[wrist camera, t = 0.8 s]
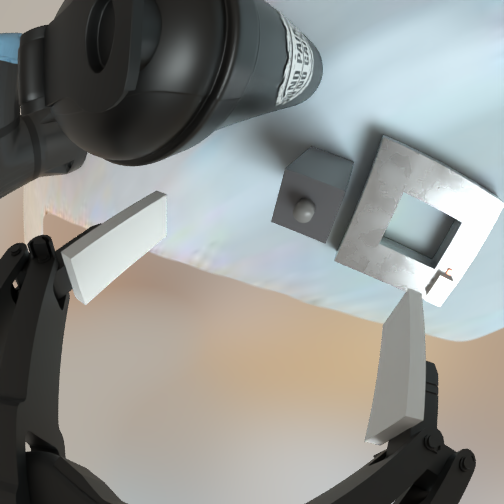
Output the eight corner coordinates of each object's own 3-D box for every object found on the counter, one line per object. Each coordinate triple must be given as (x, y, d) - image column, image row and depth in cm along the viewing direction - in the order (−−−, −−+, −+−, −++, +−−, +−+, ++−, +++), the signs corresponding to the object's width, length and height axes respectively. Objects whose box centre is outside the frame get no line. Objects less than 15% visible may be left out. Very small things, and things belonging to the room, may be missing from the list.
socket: (337, 251, 31) (333, 264, 29) (383, 134, 23) (384, 138, 21) (437, 295, 28) (440, 310, 26) (497, 196, 20) (507, 206, 18)
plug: (299, 185, 29) (265, 228, 21) (311, 146, 26) (279, 173, 18) (340, 201, 28) (322, 251, 20) (354, 162, 25) (343, 197, 17)
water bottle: (327, 122, 24) (175, 224, 7) (231, 111, 27) (18, 186, 10) (334, 24, 19) (188, -129, 1) (233, 24, 22) (10, -4, 4)
